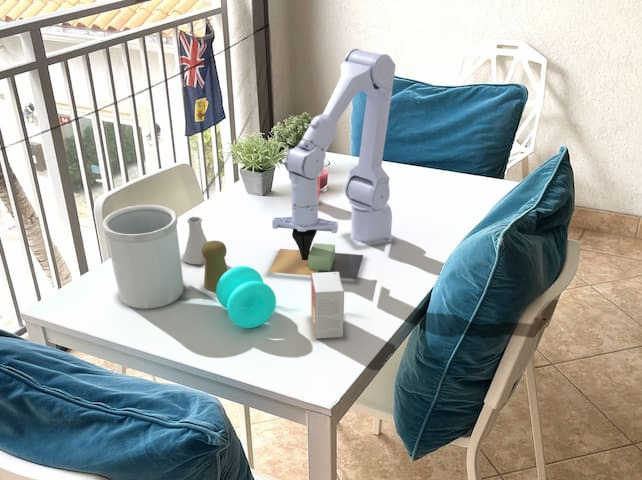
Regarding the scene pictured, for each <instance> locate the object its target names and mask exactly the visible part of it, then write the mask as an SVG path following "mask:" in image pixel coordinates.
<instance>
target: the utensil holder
mask: <svg viewBox="0 0 642 480" xmlns="http://www.w3.org/2000/svg"><path fill="white" fill-rule="evenodd" d="M177 215H178V214H177V213H176V212H175V211H174V210H173V209H171V208H169V207H167V206H163V205H157V204H138V205H130V206H126V207H122V208H119V209H117V210H114V211H113V212H110V213H109V214H108V215H106V216H105V217H104V219H103V220H102V229H103V232H104V233H105V237H106V241H107V245H108V246H107V247H108V250H109V255H110V260H111V264H112V268H113V273H114V279H115V282H116V285H117V290H118V294H119V298H120V300H121V302H122V303H124V305H126V306H127V307H131V308H134V309H141V310H143V309H145V310H147V309H148V310H149V309H157V308H162V307H165V306H168V305H169V304H172V303H174V302H176V301H177V300H178V299H179V298H180V297H181V296H182V295H183V293H184V289H185V288H184V280H183V279H184V278H183V268H182V260H181V252H180V251H181V250H180V244H179V234H178V226H177V225H178V216H177Z"/></svg>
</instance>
